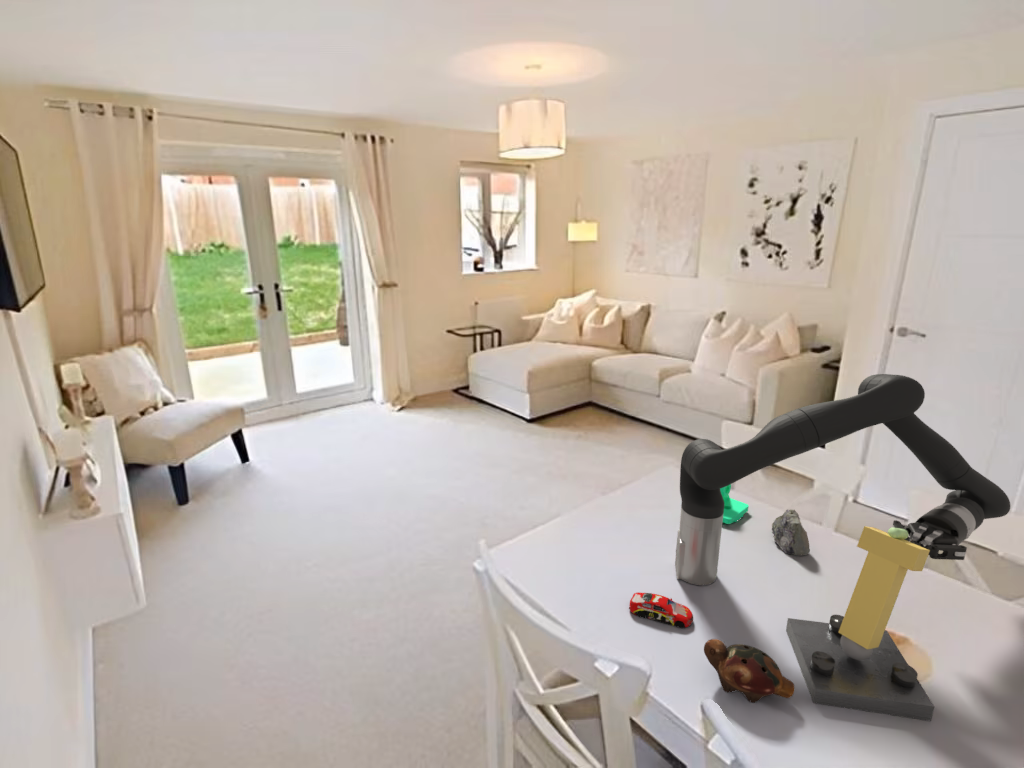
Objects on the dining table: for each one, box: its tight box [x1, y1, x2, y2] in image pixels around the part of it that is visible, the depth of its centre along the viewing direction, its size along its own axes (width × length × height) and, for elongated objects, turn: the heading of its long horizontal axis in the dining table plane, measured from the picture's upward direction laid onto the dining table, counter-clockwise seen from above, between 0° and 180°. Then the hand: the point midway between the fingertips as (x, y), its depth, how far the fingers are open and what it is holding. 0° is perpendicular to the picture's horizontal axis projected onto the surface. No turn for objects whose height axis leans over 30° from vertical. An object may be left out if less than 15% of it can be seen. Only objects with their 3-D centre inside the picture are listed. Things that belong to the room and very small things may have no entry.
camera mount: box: [720, 484, 749, 525], centre depth 154 cm, size 12×8×10 cm, turn 132°
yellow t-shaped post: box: [838, 525, 930, 660], centre depth 99 cm, size 5×9×25 cm, turn 33°
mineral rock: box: [771, 509, 811, 557], centre depth 141 cm, size 13×11×10 cm
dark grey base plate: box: [785, 614, 935, 722], centre depth 100 cm, size 18×18×5 cm
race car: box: [628, 591, 694, 629], centre depth 116 cm, size 13×5×4 cm, turn 65°
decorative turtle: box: [703, 638, 795, 704], centre depth 96 cm, size 10×15×8 cm, turn 68°
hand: (906, 554), depth 103 cm, fingers closed
